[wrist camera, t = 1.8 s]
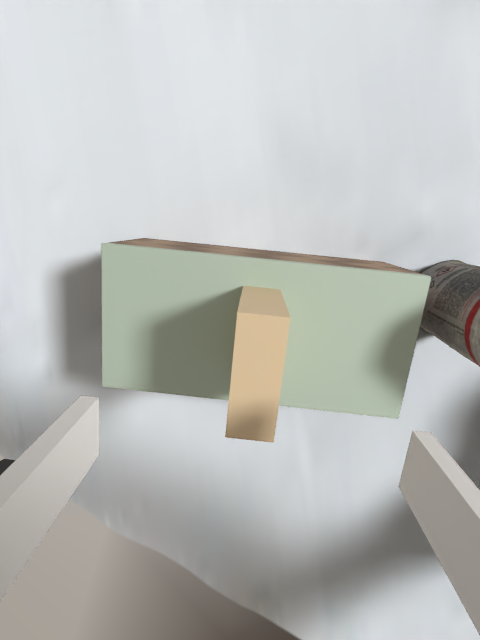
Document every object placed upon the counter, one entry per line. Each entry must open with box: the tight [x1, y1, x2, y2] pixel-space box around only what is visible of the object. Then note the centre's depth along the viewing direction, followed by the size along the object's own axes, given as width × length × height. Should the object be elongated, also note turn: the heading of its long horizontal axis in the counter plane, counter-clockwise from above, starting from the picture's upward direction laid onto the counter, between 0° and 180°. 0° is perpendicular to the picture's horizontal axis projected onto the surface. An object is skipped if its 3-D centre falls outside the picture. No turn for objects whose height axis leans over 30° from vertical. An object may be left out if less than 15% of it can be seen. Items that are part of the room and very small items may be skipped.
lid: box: [101, 243, 431, 442], centre depth 26 cm, size 26×12×10 cm, turn 85°
